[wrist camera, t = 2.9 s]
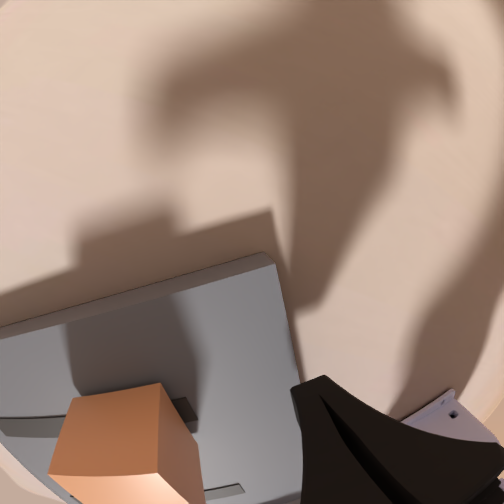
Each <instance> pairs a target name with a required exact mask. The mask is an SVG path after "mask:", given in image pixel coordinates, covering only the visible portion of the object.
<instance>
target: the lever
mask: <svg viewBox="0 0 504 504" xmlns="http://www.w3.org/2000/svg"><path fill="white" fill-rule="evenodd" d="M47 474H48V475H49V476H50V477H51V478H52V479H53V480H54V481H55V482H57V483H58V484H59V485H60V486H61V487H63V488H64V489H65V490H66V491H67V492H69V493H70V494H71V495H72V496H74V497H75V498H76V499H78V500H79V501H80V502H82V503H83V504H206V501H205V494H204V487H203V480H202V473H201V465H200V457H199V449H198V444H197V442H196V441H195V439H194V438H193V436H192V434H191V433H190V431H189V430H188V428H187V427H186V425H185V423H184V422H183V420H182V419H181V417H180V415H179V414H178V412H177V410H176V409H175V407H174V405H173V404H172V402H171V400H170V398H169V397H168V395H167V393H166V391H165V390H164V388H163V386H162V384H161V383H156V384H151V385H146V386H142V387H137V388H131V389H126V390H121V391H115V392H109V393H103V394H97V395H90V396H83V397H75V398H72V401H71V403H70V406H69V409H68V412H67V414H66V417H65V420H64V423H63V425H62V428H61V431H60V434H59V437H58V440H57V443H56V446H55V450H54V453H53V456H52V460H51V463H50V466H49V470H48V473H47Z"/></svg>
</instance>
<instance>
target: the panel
mask: <svg viewBox="0 0 504 504" xmlns="http://www.w3.org/2000/svg"><path fill="white" fill-rule="evenodd" d="M156 383H161V384H162V386H163V388H164V390H165V391H166V393H167V395H168V397H169V398H170V400H171V402H172V404H173V405H174V407H175V409H176V410H177V412H178V414H179V415H180V417H181V419H182V420H183V422H184V423H185V425H186V427H187V428H188V430H189V431H190V433H191V434H192V436H193V438H194V439H195V441H196V442H197V444H198V449H199V457H200V465H201V473H202V480H203V487H204V494H205V501H206V504H300V500H301V490H302V474H303V452H302V436H301V430H300V427H299V424H298V422H297V419H296V415H295V411H294V406H293V402H292V398H291V393H290V389H291V388H292V387H293V386H296V385H299V384H300V380H299V375H298V370H297V365H296V360H295V355H294V350H293V345H292V340H291V335H290V330H289V325H288V320H287V316H286V311H285V306H284V301H283V297H282V292H281V287H280V282H279V278H278V273H277V269H276V264H275V263H274V262H273V261H272V259H271V258H270V257H269V256H268V255H267V254H266V253H265V252H261V253H258V254H254V255H251V256H247V257H244V258H240V259H237V260H234V261H230V262H227V263H223V264H220V265H216V266H213V267H209V268H206V269H203V270H199V271H196V272H192V273H189V274H185V275H182V276H178V277H175V278H171V279H168V280H165V281H161V282H158V283H154V284H151V285H147V286H144V287H140V288H137V289H133V290H130V291H126V292H123V293H119V294H116V295H112V296H109V297H105V298H102V299H99V300H95V301H92V302H88V303H85V304H81V305H78V306H74V307H71V308H67V309H64V310H60V311H57V312H53V313H50V314H46V315H42V316H39V317H35V318H32V319H28V320H25V321H21V322H18V323H14V324H11V325H7V326H4V327H0V442H1V444H2V445H3V446H4V447H5V448H6V449H7V450H8V451H9V452H10V453H11V454H12V455H13V456H14V457H15V458H16V459H17V460H18V461H19V462H20V463H21V464H22V465H23V466H24V467H25V468H26V469H27V470H28V471H29V472H30V473H31V474H32V475H34V476H35V477H36V478H37V479H38V480H39V481H40V482H42V483H43V484H44V485H45V486H46V487H47V488H49V489H50V490H51V491H52V492H54V493H55V494H56V495H57V496H59V497H60V498H61V499H62V500H64V501H65V502H66V503H68V504H83V503H82V502H80V501H79V500H78V499H76V498H75V497H74V496H72V495H71V494H70V493H69V492H67V491H66V490H65V489H64V488H63V487H61V486H60V485H59V484H58V483H57V482H55V481H54V480H53V479H52V478H51V477H50V476H49V475H48V474H47V473H48V470H49V466H50V463H51V460H52V456H53V453H54V450H55V446H56V443H57V440H58V437H59V434H60V431H61V428H62V425H63V423H64V420H65V417H66V414H67V412H68V409H69V406H70V403H71V401H72V398H75V397H83V396H90V395H97V394H103V393H109V392H115V391H121V390H126V389H131V388H137V387H142V386H146V385H151V384H156Z"/></svg>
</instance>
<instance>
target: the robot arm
mask: <svg viewBox="0 0 504 504" xmlns="http://www.w3.org/2000/svg"><path fill="white" fill-rule="evenodd" d="M290 393H291V398H292V402H293V406H294V411H295V415H296V419H297V422H298V424H299V427H300V430H301V436H302V452H303V474H302V490H301V500H300V504H504V479H503V478H501V479H498V478H497V477H498V476H499V475H500V473H501V472H502V471H503V470H504V448H503V447H502V446H501V445H500V443H499V441H498V440H497V438H496V437H495V436H494V435H493V434H492V433H491V432H490V431H489V430H488V429H487V428H486V427H485V426H484V425H483V424H482V423H481V422H480V421H479V420H478V419H477V418H475V417H474V416H473V415H472V414H471V413H470V412H469V411H468V410H467V409H466V408H465V407H464V406H462V405H461V404H460V403H459V402H458V401H457V400H456V399H455V398H454V396H455V390H454V389H450V390H449V391H447V392H446V393H444V394H443V395H442V396H440V397H439V398H437V399H436V400H434V401H433V402H431V403H430V404H428V405H427V406H425V407H424V408H422V409H421V410H419V411H417V412H416V413H414V414H413V415H411V416H409V417H408V418H406V419H404V420H403V421H401V422H399V421H397V420H395V419H393V418H391V417H389V416H387V415H385V414H383V413H381V412H379V411H377V410H375V409H374V408H372V407H370V406H369V405H367V404H365V403H364V402H362V401H360V400H359V399H357V398H356V397H354V396H353V395H351V394H350V393H349V392H347V391H346V390H344V389H343V388H342V387H340V386H339V385H338V384H336V383H335V382H334V381H332V380H331V379H330V378H329V377H328V376H326V375H322V376H320V377H317V378H314V379H312V380H309V381H307V382H304V383H301V384H299V385H296V386H293V387H292V388H291V389H290Z"/></svg>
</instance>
